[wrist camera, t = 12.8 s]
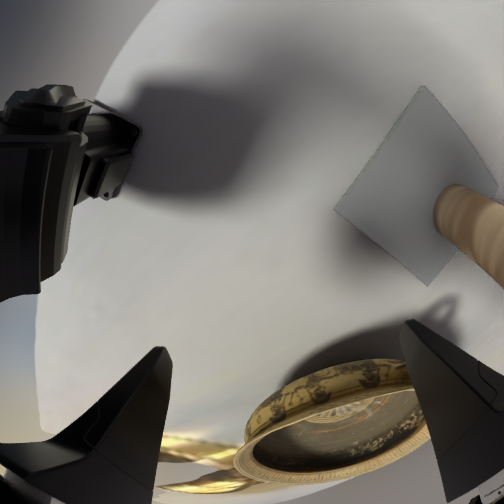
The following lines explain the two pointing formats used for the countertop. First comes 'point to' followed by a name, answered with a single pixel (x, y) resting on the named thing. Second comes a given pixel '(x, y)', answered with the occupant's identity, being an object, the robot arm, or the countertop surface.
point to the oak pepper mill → (473, 227)
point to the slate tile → (415, 185)
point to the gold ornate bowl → (334, 425)
